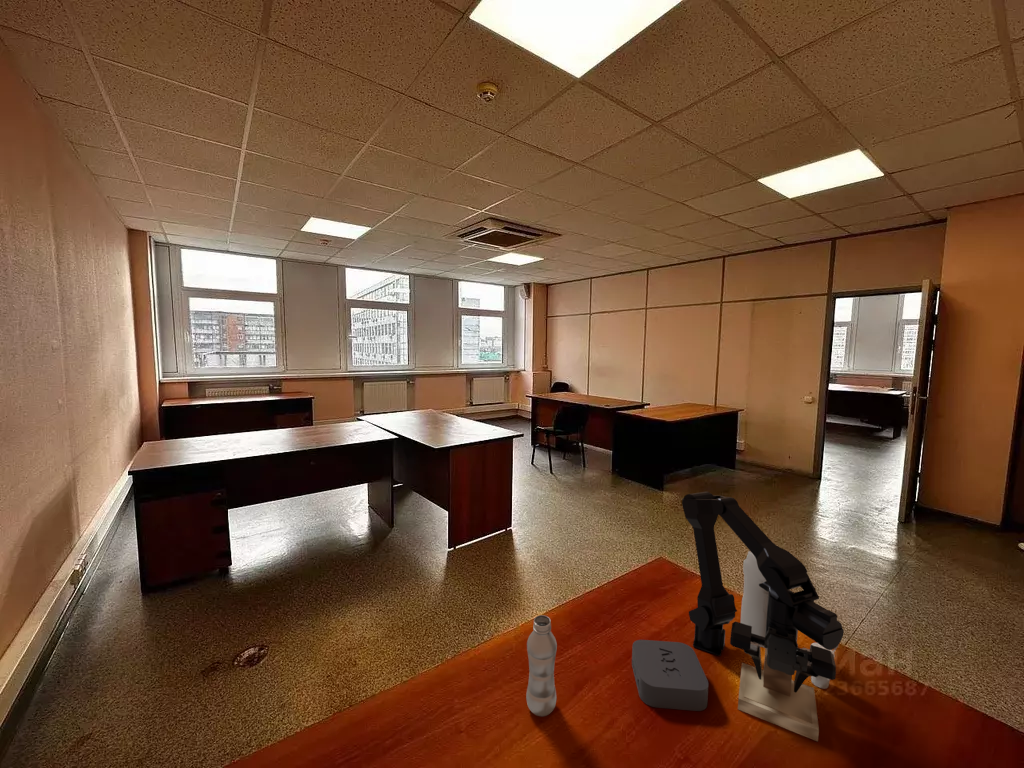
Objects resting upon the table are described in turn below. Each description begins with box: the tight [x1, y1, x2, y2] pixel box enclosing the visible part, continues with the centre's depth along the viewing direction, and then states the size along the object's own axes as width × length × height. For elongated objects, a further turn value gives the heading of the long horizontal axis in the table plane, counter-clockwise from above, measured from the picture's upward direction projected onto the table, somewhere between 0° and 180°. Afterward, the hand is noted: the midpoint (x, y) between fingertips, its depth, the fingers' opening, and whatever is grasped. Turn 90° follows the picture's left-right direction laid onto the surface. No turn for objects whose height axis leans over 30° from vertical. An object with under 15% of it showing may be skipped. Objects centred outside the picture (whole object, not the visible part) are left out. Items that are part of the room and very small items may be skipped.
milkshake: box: [810, 642, 840, 690], centre depth 97 cm, size 4×5×10 cm
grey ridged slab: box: [739, 550, 768, 637], centre depth 113 cm, size 11×4×22 cm, turn 8°
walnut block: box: [763, 648, 793, 696], centre depth 94 cm, size 5×5×6 cm
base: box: [737, 662, 820, 742], centre depth 92 cm, size 14×12×3 cm
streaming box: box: [631, 639, 709, 712], centre depth 98 cm, size 14×14×5 cm
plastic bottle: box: [525, 614, 558, 717], centre depth 90 cm, size 6×7×20 cm
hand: (777, 684), depth 92 cm, fingers open, 6 cm apart
